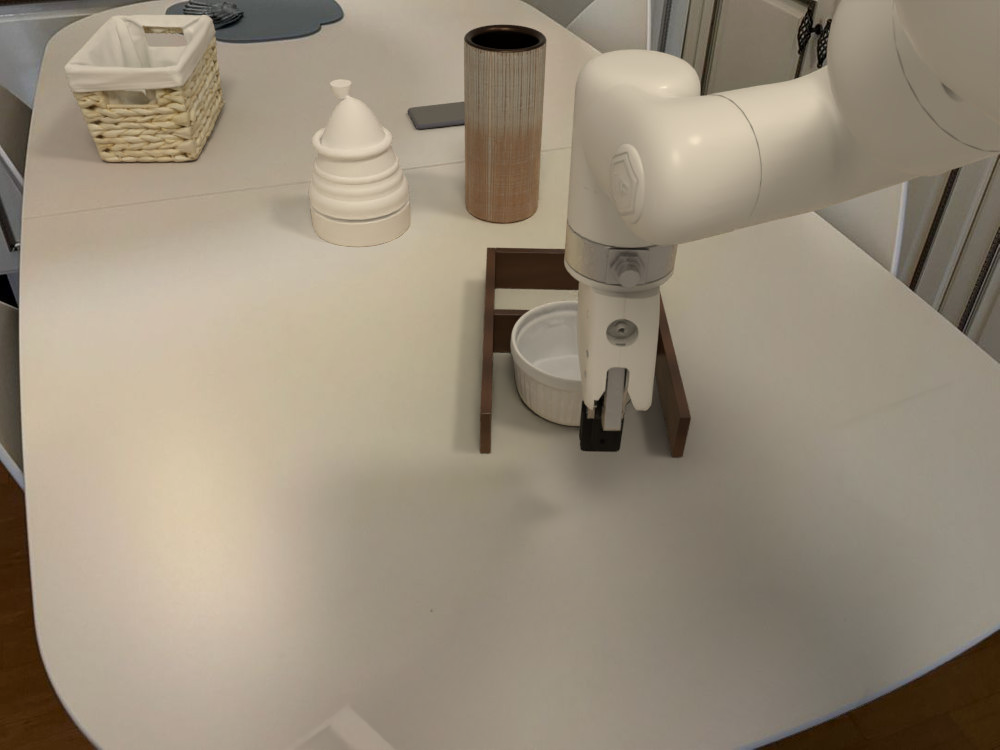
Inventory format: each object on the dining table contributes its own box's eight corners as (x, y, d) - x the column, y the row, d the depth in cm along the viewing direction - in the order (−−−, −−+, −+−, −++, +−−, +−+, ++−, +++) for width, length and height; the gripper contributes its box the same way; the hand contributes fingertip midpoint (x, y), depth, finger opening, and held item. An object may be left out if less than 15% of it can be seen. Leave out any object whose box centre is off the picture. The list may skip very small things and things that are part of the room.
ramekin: (664, 391, 87) (674, 336, 83) (585, 457, 80) (591, 401, 75) (563, 338, 94) (568, 284, 90) (481, 394, 86) (482, 338, 82)
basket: (200, 167, 125) (178, 66, 116) (87, 168, 124) (56, 66, 115) (232, 104, 143) (215, 13, 134) (134, 104, 143) (110, 12, 133)
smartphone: (406, 107, 141) (493, 97, 145) (407, 113, 142) (493, 103, 145) (416, 125, 136) (506, 114, 139) (417, 131, 136) (506, 120, 140)
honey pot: (294, 218, 114) (274, 84, 102) (374, 190, 120) (364, 61, 109) (347, 257, 106) (332, 118, 95) (430, 225, 113) (425, 91, 101)
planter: (551, 215, 116) (561, 43, 101) (484, 230, 112) (485, 55, 98) (517, 184, 123) (523, 19, 108) (453, 197, 119) (450, 29, 105)
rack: (682, 457, 80) (691, 417, 77) (479, 453, 80) (480, 413, 77) (644, 286, 102) (650, 250, 99) (486, 283, 102) (486, 247, 99)
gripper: (694, 307, 52) (657, 514, 63) (660, 196, 64) (634, 387, 75) (571, 305, 52) (556, 512, 63) (560, 195, 64) (549, 386, 75)
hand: (599, 444), depth 69 cm, fingers closed
